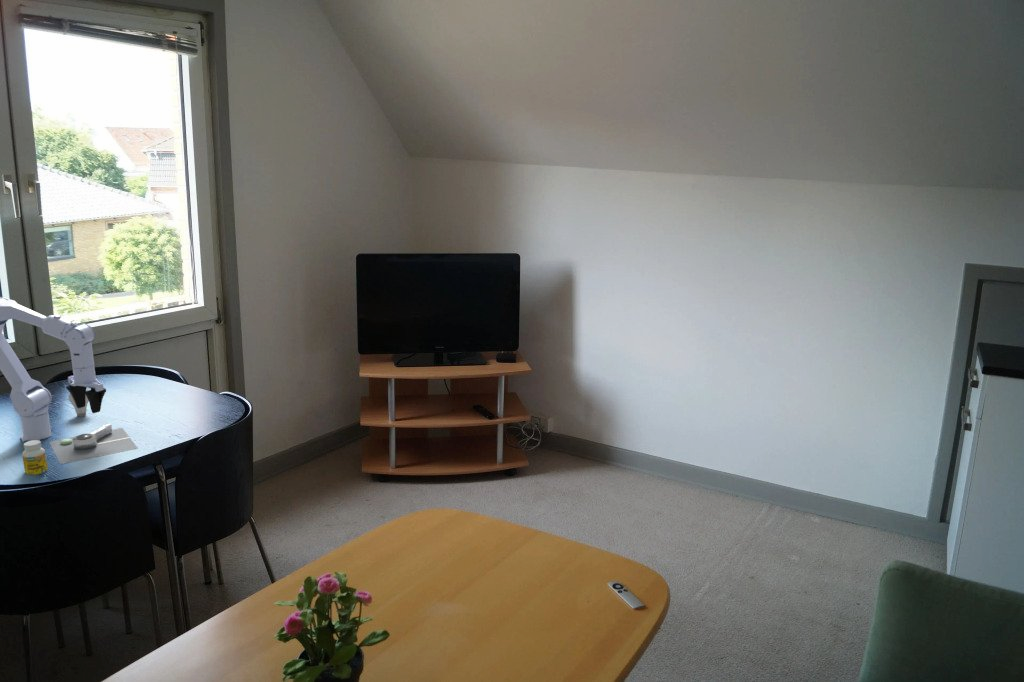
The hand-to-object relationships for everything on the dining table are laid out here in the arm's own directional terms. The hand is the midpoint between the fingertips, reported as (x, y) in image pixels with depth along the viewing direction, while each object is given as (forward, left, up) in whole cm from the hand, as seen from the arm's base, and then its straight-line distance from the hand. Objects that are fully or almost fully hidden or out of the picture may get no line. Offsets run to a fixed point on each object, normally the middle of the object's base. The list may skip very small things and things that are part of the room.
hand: (88, 409), depth 237 cm
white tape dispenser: (+4, 0, -9) cm, 9 cm away
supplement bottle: (+18, -17, -11) cm, 27 cm away
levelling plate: (+7, -1, -10) cm, 12 cm away
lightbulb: (-22, +1, -10) cm, 25 cm away
